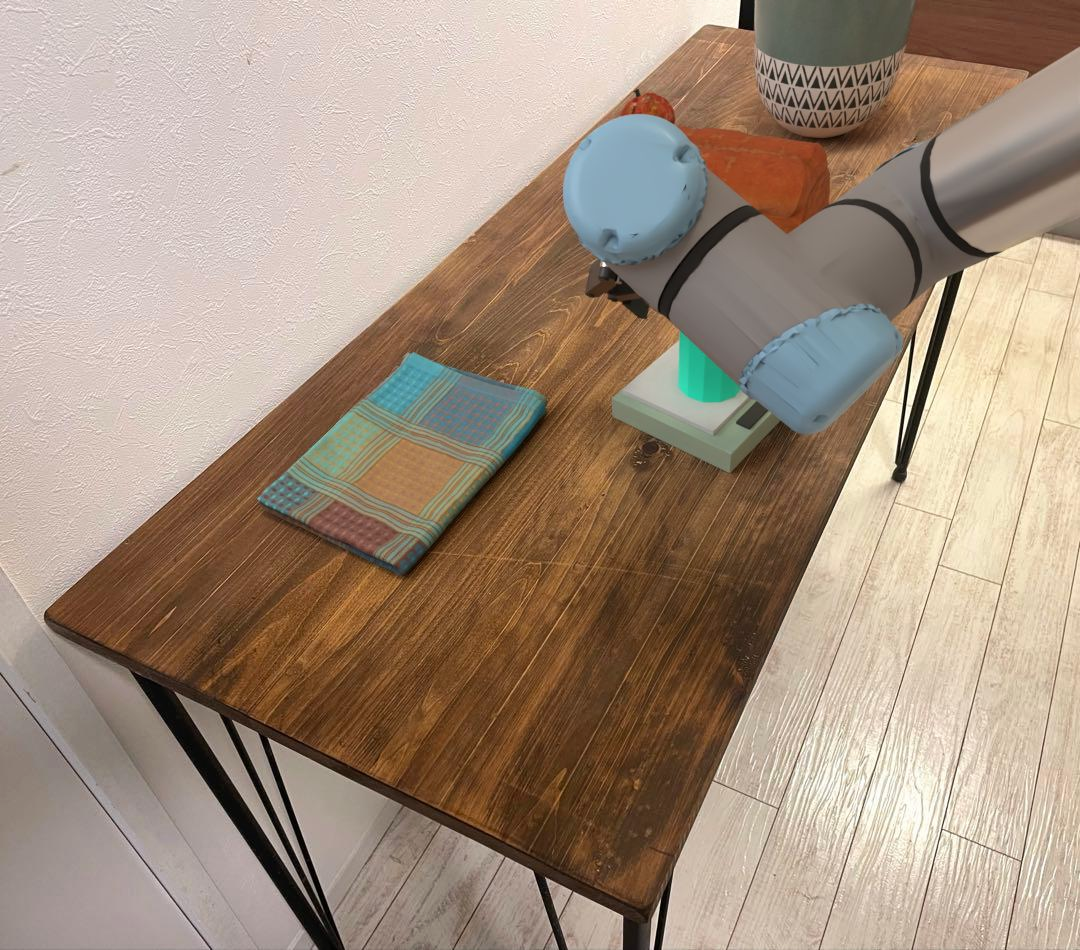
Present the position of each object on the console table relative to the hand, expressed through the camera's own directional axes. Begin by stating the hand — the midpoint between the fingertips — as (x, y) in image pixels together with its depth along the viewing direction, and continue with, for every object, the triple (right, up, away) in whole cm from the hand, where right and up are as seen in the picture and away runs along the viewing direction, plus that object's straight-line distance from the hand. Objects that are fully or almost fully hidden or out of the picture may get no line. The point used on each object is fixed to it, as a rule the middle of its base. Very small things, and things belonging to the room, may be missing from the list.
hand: (719, 314), depth 81 cm
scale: (0, -8, +5) cm, 9 cm away
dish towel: (-28, -13, +4) cm, 31 cm away
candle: (0, -6, +3) cm, 7 cm away
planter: (+22, +33, +44) cm, 59 cm away
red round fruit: (-1, +31, +45) cm, 55 cm away
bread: (+4, +15, +28) cm, 32 cm away
